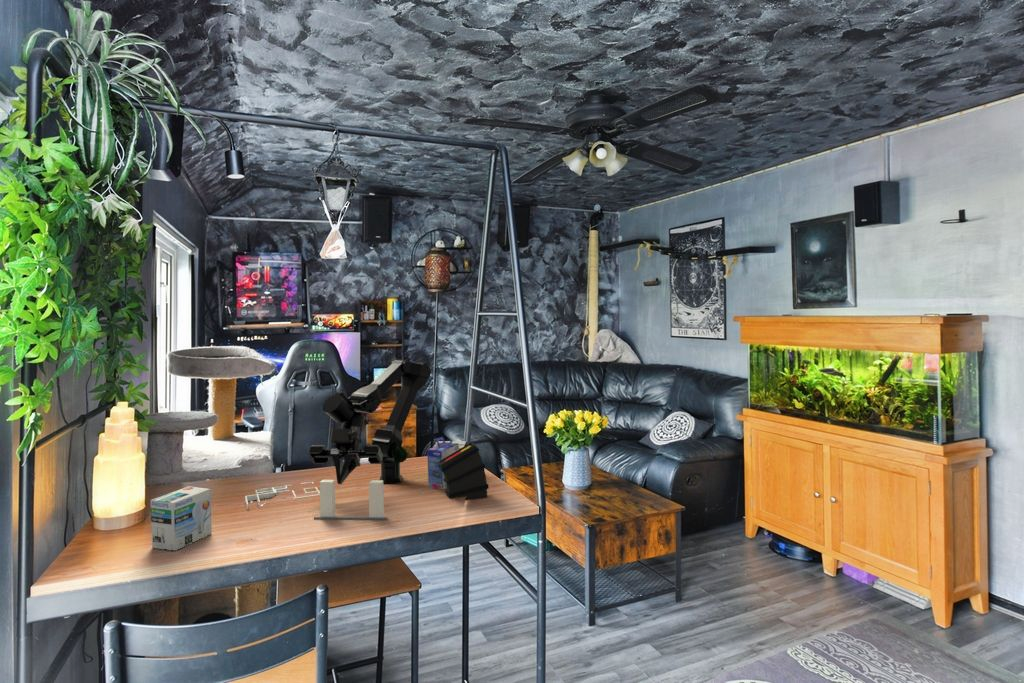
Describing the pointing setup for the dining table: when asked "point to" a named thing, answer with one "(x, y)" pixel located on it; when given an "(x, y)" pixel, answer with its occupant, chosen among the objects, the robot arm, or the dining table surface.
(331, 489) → the cream tall block
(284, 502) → the dining table surface
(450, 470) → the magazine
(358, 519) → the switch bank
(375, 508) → the beige rectangular block
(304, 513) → the dining table surface
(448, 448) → the ink cartridge box
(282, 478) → the dining table surface
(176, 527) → the light bulb box
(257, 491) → the floor plan model
